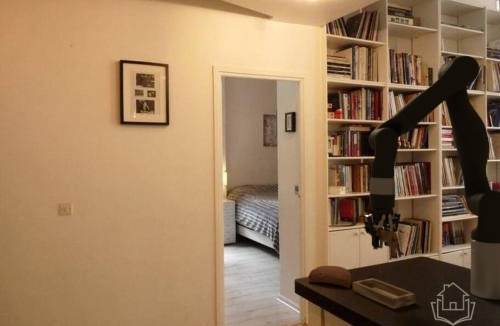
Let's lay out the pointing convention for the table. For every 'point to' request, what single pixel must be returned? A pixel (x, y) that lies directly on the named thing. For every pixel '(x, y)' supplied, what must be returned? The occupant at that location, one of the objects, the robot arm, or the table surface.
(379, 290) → the rectangular tray
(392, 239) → the lion figurine
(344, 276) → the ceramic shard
